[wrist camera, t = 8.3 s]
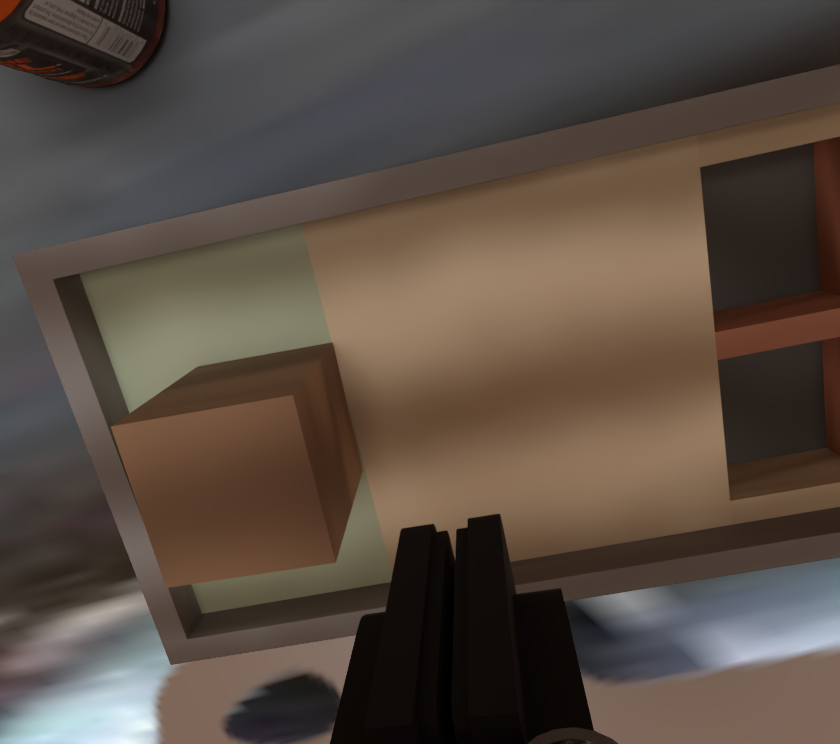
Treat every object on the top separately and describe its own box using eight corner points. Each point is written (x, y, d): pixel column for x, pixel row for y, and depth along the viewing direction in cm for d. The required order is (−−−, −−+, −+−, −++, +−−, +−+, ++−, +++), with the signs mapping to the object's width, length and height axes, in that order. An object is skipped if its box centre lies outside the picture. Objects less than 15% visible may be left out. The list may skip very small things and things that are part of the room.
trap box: (89, 244, 24) (12, 254, 20) (834, 73, 21) (934, 42, 17) (212, 593, 28) (170, 664, 24) (849, 484, 26) (931, 542, 21)
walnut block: (197, 366, 22) (110, 426, 16) (332, 342, 22) (292, 395, 16) (234, 491, 23) (166, 588, 18) (362, 471, 23) (335, 562, 17)
